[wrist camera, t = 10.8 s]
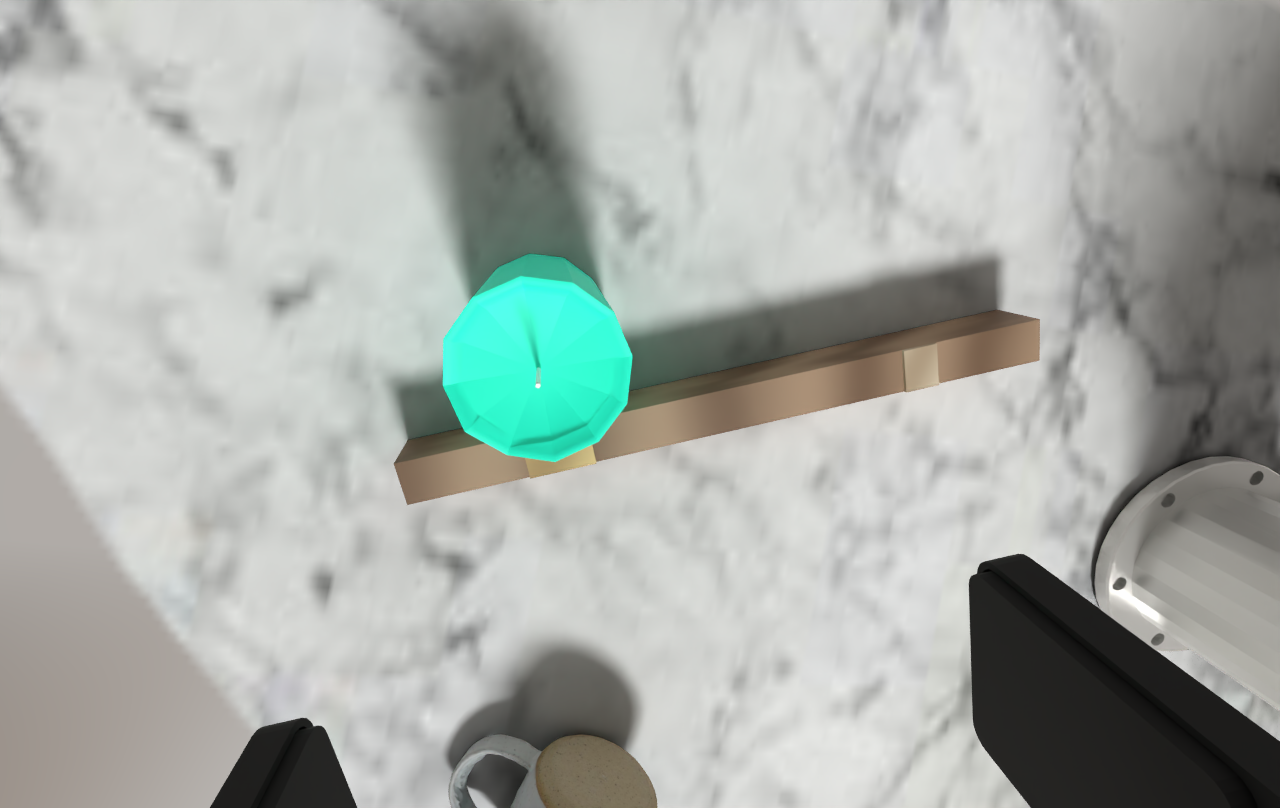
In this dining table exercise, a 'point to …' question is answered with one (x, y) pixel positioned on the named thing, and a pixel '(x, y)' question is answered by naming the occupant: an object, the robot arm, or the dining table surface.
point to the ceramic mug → (562, 774)
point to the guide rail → (741, 399)
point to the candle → (537, 361)
